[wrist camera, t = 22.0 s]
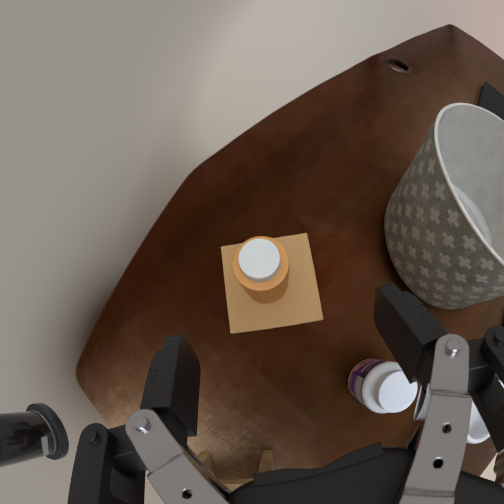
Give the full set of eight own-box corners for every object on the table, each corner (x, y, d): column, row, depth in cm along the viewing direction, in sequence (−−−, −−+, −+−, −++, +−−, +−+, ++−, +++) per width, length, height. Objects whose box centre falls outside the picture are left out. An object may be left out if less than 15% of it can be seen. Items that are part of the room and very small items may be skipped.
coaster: (231, 333, 32) (230, 333, 32) (221, 247, 36) (220, 246, 35) (322, 319, 31) (323, 319, 31) (306, 234, 35) (306, 232, 35)
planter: (404, 165, 37) (447, 79, 20) (491, 231, 32) (559, 176, 14) (352, 263, 33) (409, 189, 16) (457, 337, 28) (554, 321, 11)
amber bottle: (247, 306, 32) (232, 292, 23) (242, 265, 34) (226, 235, 25) (291, 300, 32) (294, 282, 23) (284, 258, 34) (283, 225, 24)
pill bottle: (386, 354, 29) (423, 357, 20) (388, 395, 27) (424, 411, 18) (345, 362, 29) (370, 369, 20) (347, 404, 28) (371, 426, 19)
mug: (493, 399, 23) (517, 403, 18) (452, 449, 22) (474, 460, 17) (464, 349, 27) (490, 347, 22) (419, 401, 26) (441, 409, 21)
